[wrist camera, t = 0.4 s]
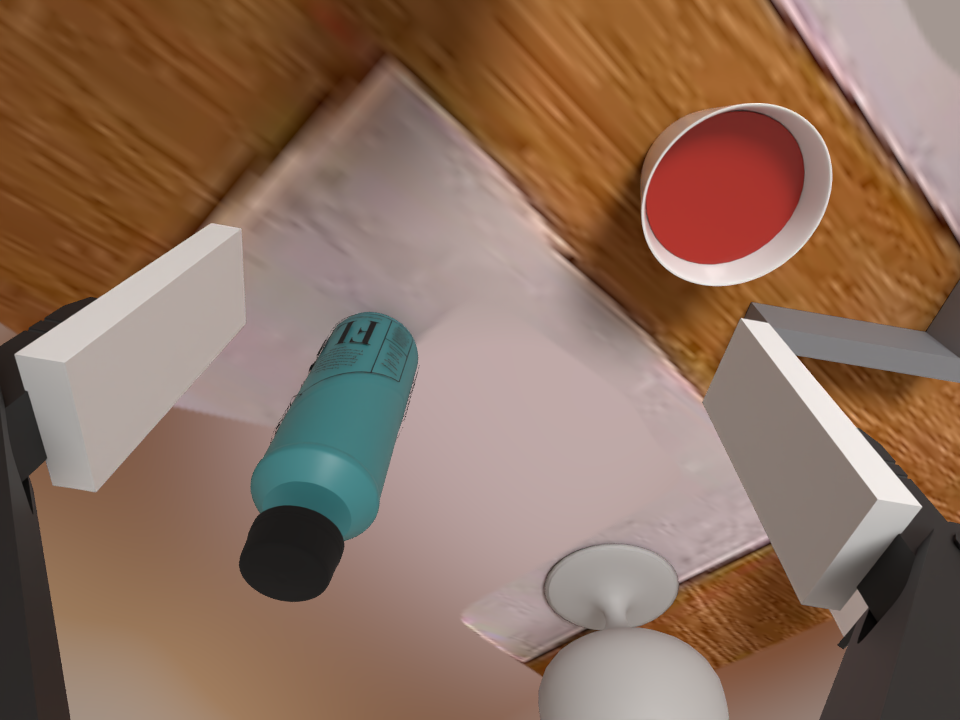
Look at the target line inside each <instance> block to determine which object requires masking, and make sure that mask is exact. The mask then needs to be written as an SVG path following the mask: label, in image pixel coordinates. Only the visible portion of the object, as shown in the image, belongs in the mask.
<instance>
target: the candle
mask: <svg viewBox="0 0 960 720" xmlns="http://www.w3.org/2000/svg"><path fill="white" fill-rule="evenodd" d="M831 186H832V166H831V160H830V156H829V152H828V149H827V147H826V145H825V142H824V140H823V139H822V137H821V135H820V134H819V133H818V131H817V130H816V129H815V128H814V127H813V125H812V124H811V123H809V122H808V121H807V120H806V119H805V118H803V117H802V116H800V115H799V114H797V113H795V112H793V111H791V110H789V109H786V108H784V107H780V106H777V105H772V104H764V103H746V104H738V105H731V106H724V107H718V108H711V109H706V110H701V111H697V112H694V113H691V114H689V115H686V116H684V117H682V118H680V119H678V120H677V121H675V122H674V123H672V124H671V125H670V126H668V127H667V128H666V129H665V130H664V131H663V132H662V133H661V134H660V135H659V136H658V137H657V139H656V140H655V141H654V143H653V144H652V146H651V147H650V149H649V151H648V153H647V155H646V158H645V160H644V163H643V167H642V172H641V180H640V198H641V221H642V228H643V232H644V236H645V239H646V242H647V244H648V246H649V248H650V250H651V252H652V253H653V255H654V256H655V258H656V259H657V260H658V261H659V262H660V263H661V264H662V265H663V266H664V267H665V268H666V269H667V270H668V271H670V272H671V273H673V274H674V275H676V276H678V277H679V278H682V279H684V280H686V281H689V282H692V283H696V284H700V285H707V286H728V285H735V284H740V283H744V282H747V281H751V280H753V279H756V278H759V277H761V276H763V275H765V274H767V273H769V272H771V271H773V270H774V269H776V268H778V267H779V266H781V265H782V264H783V263H785V262H786V261H787V260H789V259H790V258H791V257H792V256H793V255H794V254H796V253H797V252H798V251H799V250H800V249H801V248H802V247H803V245H804V244H805V243H806V242H807V241H808V239H809V238H810V237H811V236H812V234H813V233H814V231H815V230H816V228H817V226H818V225H819V223H820V221H821V219H822V217H823V215H824V212H825V210H826V207H827V204H828V201H829V197H830V193H831Z"/></svg>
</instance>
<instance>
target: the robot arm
mask: <svg viewBox="0 0 960 720" xmlns="http://www.w3.org/2000/svg"><path fill="white" fill-rule="evenodd" d="M245 324H246V310H245V289H244V269H243V248H242V228H236V227H231V226H225V225H219V224H214V223H211V224H209V225H208V226H206V227H205V228H203V229H202V230H200V231H199V232H197V233H196V234H194V235H193V236H191V237H190V238H188V239H187V240H185V241H184V242H182V243H181V244H179V245H178V246H176V247H175V248H173V249H172V250H170V251H169V252H167V253H166V254H164V255H163V256H161V257H160V258H158V259H157V260H155V261H154V262H152V263H151V264H149V265H148V266H146V267H145V268H143V269H142V270H140V271H139V272H137V273H136V274H134V275H133V276H131V277H130V278H128V279H127V280H125V281H124V282H122V283H121V284H119V285H118V286H116V287H115V288H113V289H112V290H110V291H109V292H107V293H106V294H104V295H103V296H101V297H100V298H93V297H89V298H86V299H83V300H80V301H77V302H74V303H71V304H68V305H65V306H63V307H61V308H60V309H58V310H56V311H55V312H53V313H52V314H50V315H48V316H47V317H45V319H44V321H39V322H37V323H36V324H34V325H33V326H31V327H29V330H28V331H23V332H22V333H20V334H18V335H17V336H15V337H14V338H12V339H10V340H9V341H7V342H6V343H4V344H3V345H1V346H0V720H70V714H69V707H68V701H67V695H66V689H65V683H64V677H63V671H62V664H61V658H60V652H59V646H58V640H57V634H56V627H55V621H54V615H53V609H52V602H51V597H50V591H49V584H48V578H47V572H46V565H45V559H44V553H43V547H42V541H41V535H40V530H39V529H40V528H39V522H38V517H37V510H36V504H35V498H34V492H33V488H32V484H31V481H30V478H29V475H30V474H31V473H32V472H33V471H35V470H36V469H37V468H38V467H39V466H40V465H41V464H42V463H43V462H44V461H45V460H46V464H47V467H48V470H49V474H50V477H51V481H52V484H53V485H54V486H60V487H67V488H73V489H79V490H86V491H92V492H97V491H98V490H99V488H100V487H101V486H102V485H103V484H104V483H105V482H106V481H107V479H108V478H109V477H110V476H111V475H112V474H113V473H114V472H115V470H116V469H117V468H118V467H119V466H120V465H121V464H122V462H123V461H124V460H125V459H126V458H127V457H128V456H129V455H130V454H131V452H132V451H133V450H134V449H135V448H136V447H137V446H138V445H139V443H140V442H141V441H142V440H143V439H144V438H145V437H146V436H147V434H148V433H149V432H150V431H151V430H152V429H153V428H154V427H155V425H156V424H157V423H158V422H159V421H160V420H161V419H162V418H163V416H164V415H165V414H166V413H167V412H168V411H169V410H170V409H171V407H172V406H173V405H174V404H175V403H176V402H177V401H178V400H179V398H180V397H181V396H182V395H183V394H184V393H185V392H186V391H187V389H188V388H189V387H190V386H191V385H192V384H193V383H194V382H195V380H196V379H197V378H198V377H199V376H200V375H201V374H202V373H203V371H204V370H205V369H206V368H207V367H208V366H209V365H210V364H211V362H212V361H213V360H214V359H215V358H216V357H217V356H218V355H219V353H220V352H221V351H222V350H223V349H224V348H225V347H226V346H227V344H228V343H229V342H230V341H231V340H232V339H233V338H234V337H235V335H236V334H237V333H238V332H239V331H240V330H241V329H242V328H243V326H244V325H245ZM702 403H703V405H704V407H705V409H706V411H707V413H708V415H709V417H710V419H711V421H712V423H713V425H714V427H715V429H716V431H717V433H718V435H719V438H720V440H721V442H722V444H723V446H724V448H725V450H726V452H727V454H728V456H729V458H730V460H731V462H732V464H733V466H734V468H735V470H736V472H737V474H738V476H739V478H740V480H741V482H742V484H743V487H744V489H745V491H746V493H747V495H748V497H749V499H750V501H751V503H752V505H753V507H754V509H755V511H756V513H757V515H758V517H759V519H760V521H761V523H762V525H763V527H764V529H765V531H766V534H767V536H768V538H769V540H770V542H771V544H772V546H773V548H774V550H775V552H776V554H777V556H778V558H779V560H780V562H781V564H782V566H783V568H784V570H785V572H786V574H787V576H788V578H789V581H790V583H791V585H792V587H793V589H794V591H795V593H796V595H797V597H798V599H799V601H800V603H801V605H807V606H813V607H820V608H826V609H832V610H838V611H841V609H842V608H843V607H844V605H845V604H846V603H847V602H848V600H849V599H850V598H851V597H852V595H853V594H854V593H855V592H856V590H857V589H858V591H859V593H860V594H861V596H862V598H863V599H864V601H865V603H866V604H867V606H868V608H867V610H866V611H865V612H864V613H863V615H862V616H861V617H860V618H859V619H858V621H857V622H856V623H855V624H854V625H853V627H852V628H851V629H850V630H849V631H848V633H847V634H846V635H845V636H844V638H843V639H842V640H841V641H840V643H839V644H838V646H839V647H841V648H842V649H844V648H846V647H847V646H848V647H847V649H846V652H845V655H844V657H843V660H842V662H841V665H840V667H839V670H838V673H837V676H836V678H835V680H834V683H833V686H832V688H831V691H830V694H829V696H828V699H827V701H826V704H825V706H824V709H823V712H822V714H821V717H820V719H819V720H960V524H958V523H954V522H947V521H946V520H945V518H944V517H943V516H942V515H941V514H940V513H939V511H938V510H937V509H936V508H935V507H934V506H933V504H932V503H931V502H930V501H929V500H928V499H927V498H926V496H925V495H924V494H923V493H922V492H921V491H920V489H919V488H918V487H917V486H916V485H915V484H914V482H913V481H912V480H911V479H907V476H908V475H907V474H906V473H905V472H904V471H903V470H902V469H901V467H900V466H899V465H895V460H894V459H893V458H892V457H891V456H890V455H889V453H888V452H887V451H886V450H885V449H884V448H883V446H882V445H881V444H879V443H878V442H877V441H875V440H874V439H873V438H871V437H870V436H869V435H867V434H866V433H865V432H863V431H862V430H861V429H860V428H856V427H855V426H854V424H853V423H852V422H851V421H850V420H849V419H848V417H847V416H846V415H845V414H844V413H843V411H842V410H841V409H840V408H839V407H838V405H837V404H836V403H835V402H834V401H833V399H832V398H831V397H830V396H829V395H828V393H827V392H826V391H825V390H824V389H823V387H822V386H821V385H820V384H819V383H818V381H817V380H816V379H815V378H814V377H813V376H812V374H811V373H810V372H809V371H808V370H807V368H806V367H805V366H804V365H803V364H802V362H801V361H800V360H799V359H798V358H797V356H796V355H795V354H794V353H793V352H792V350H791V349H790V348H789V347H788V346H787V344H786V343H785V342H784V341H783V340H782V338H781V337H780V336H779V335H778V334H777V332H776V331H775V330H774V329H773V328H772V327H771V325H770V324H769V323H765V322H760V321H754V320H749V319H743V318H740V320H739V323H738V325H737V327H736V329H735V332H734V334H733V336H732V338H731V340H730V343H729V345H728V347H727V349H726V351H725V354H724V356H723V358H722V360H721V362H720V365H719V367H718V369H717V371H716V373H715V376H714V378H713V380H712V382H711V384H710V387H709V389H708V391H707V393H706V395H705V398H704V400H703V402H702Z"/></svg>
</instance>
